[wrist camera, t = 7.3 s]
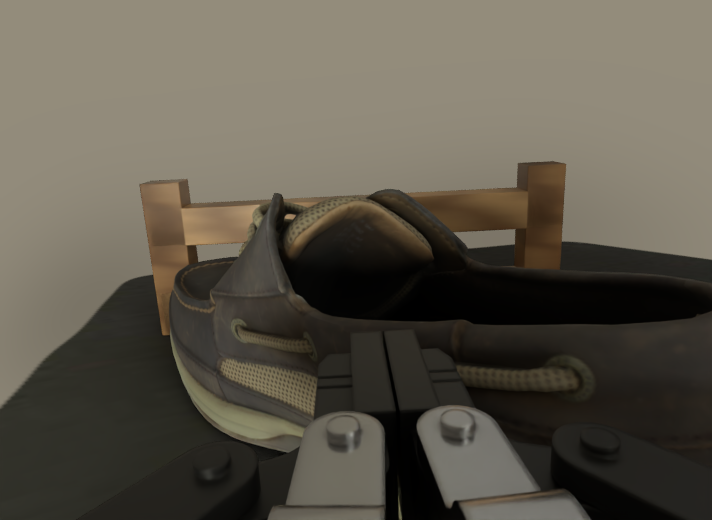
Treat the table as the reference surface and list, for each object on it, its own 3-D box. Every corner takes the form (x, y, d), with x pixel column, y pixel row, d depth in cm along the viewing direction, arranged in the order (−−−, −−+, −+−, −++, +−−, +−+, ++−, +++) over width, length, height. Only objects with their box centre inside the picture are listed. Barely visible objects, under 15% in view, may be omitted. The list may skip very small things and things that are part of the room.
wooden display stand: (521, 279, 42) (526, 155, 40) (562, 314, 35) (571, 163, 32) (191, 296, 42) (174, 172, 39) (157, 335, 34) (134, 184, 32)
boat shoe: (284, 314, 37) (271, 162, 34) (833, 544, 16) (916, 192, 13) (128, 366, 30) (96, 180, 27) (736, 906, 9) (871, 308, 6)
